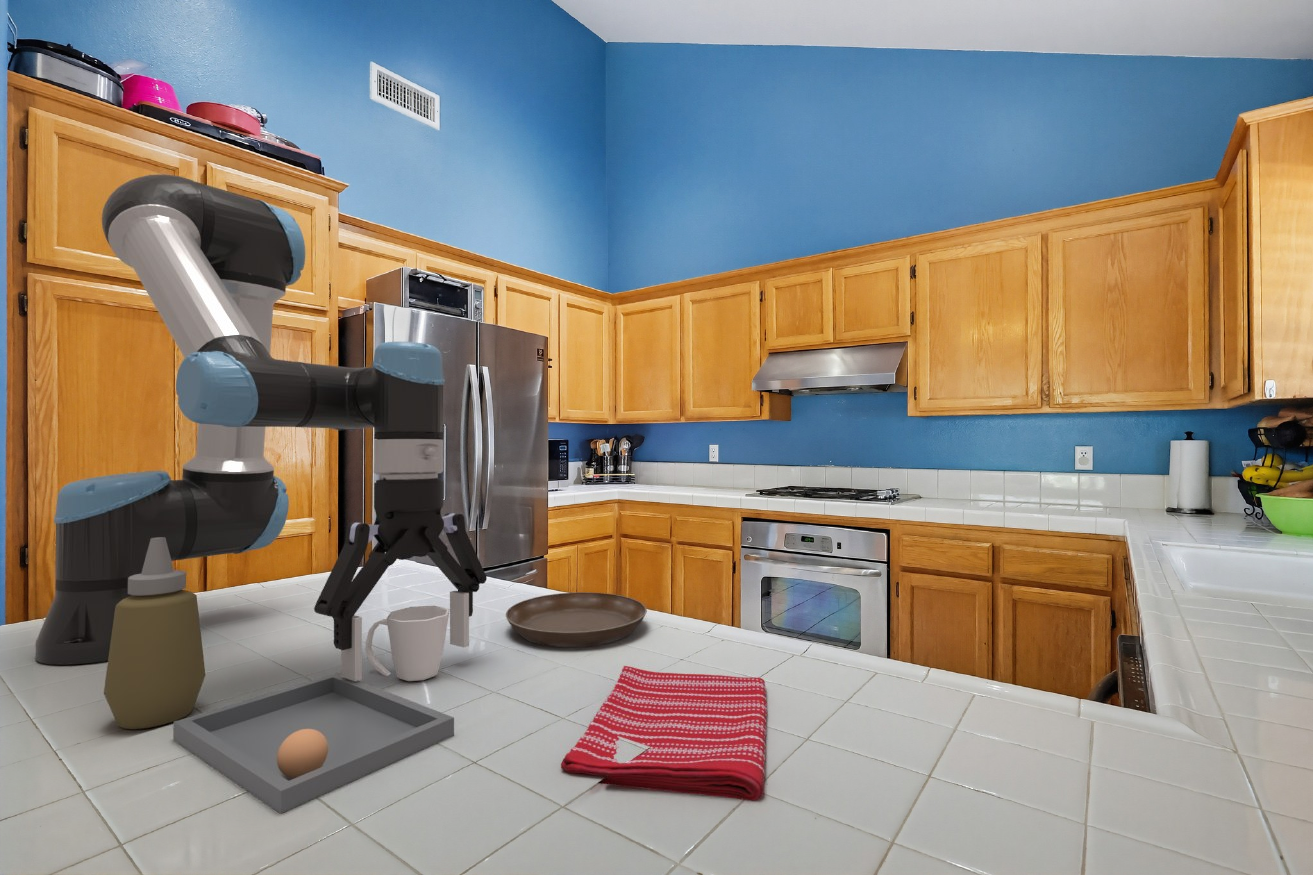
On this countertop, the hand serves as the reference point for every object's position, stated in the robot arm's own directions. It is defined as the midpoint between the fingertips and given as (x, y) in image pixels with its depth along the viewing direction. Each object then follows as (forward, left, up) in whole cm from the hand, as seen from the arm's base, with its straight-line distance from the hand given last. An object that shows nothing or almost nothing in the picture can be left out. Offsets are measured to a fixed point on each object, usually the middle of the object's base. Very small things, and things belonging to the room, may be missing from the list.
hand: (409, 661), depth 73 cm
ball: (+13, -18, -2) cm, 22 cm away
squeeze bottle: (-12, -20, -3) cm, 24 cm away
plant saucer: (+2, +27, -3) cm, 27 cm away
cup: (0, 0, -3) cm, 3 cm away
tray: (+7, -14, -2) cm, 16 cm away
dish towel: (+32, +8, -3) cm, 33 cm away
